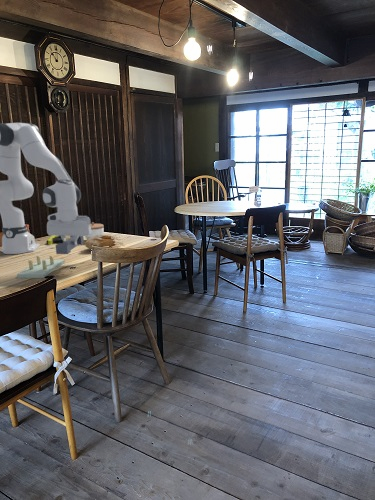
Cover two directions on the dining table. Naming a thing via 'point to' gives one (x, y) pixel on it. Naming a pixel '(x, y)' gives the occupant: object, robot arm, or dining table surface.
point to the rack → (40, 268)
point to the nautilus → (101, 241)
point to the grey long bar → (68, 245)
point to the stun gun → (55, 240)
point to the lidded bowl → (95, 230)
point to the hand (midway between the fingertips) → (70, 244)
